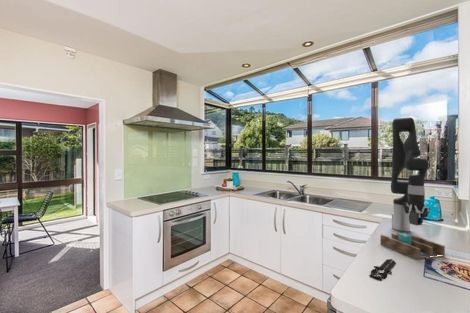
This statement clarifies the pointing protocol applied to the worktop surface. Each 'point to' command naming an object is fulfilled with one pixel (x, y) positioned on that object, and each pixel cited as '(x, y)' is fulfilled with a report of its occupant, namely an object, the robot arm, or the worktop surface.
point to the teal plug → (405, 238)
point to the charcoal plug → (414, 218)
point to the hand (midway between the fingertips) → (415, 222)
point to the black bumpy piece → (386, 270)
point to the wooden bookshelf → (414, 246)
